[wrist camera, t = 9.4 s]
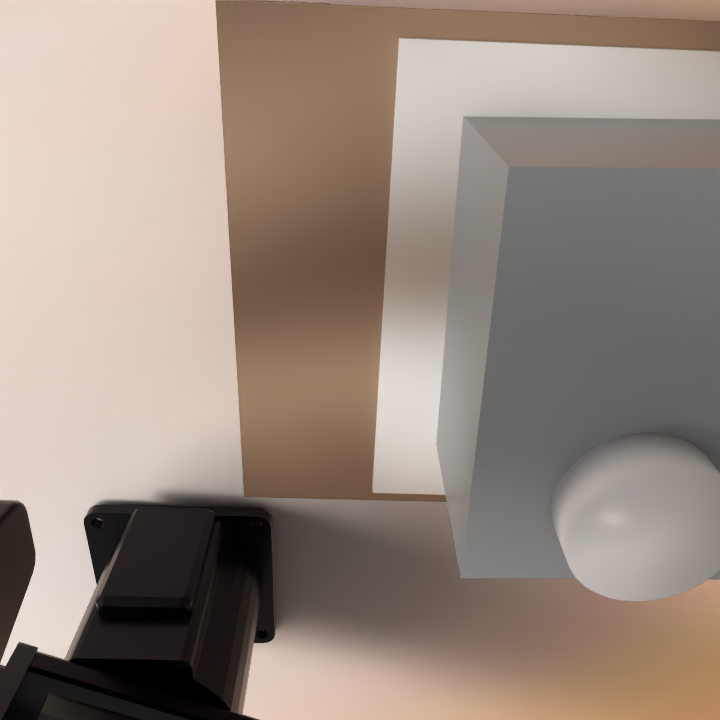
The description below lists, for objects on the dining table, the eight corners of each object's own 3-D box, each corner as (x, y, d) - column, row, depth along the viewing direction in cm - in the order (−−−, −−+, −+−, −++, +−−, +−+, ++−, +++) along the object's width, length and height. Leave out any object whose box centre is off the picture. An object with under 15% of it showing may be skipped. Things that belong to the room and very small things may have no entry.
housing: (760, 120, 13) (992, 188, 8) (668, 445, 17) (790, 620, 12) (462, 116, 13) (525, 184, 8) (436, 444, 17) (467, 620, 12)
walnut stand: (743, 429, 22) (823, 518, 18) (262, 416, 22) (242, 504, 18) (895, 28, 16) (1056, 36, 13) (246, -1, 16) (212, 0, 12)
